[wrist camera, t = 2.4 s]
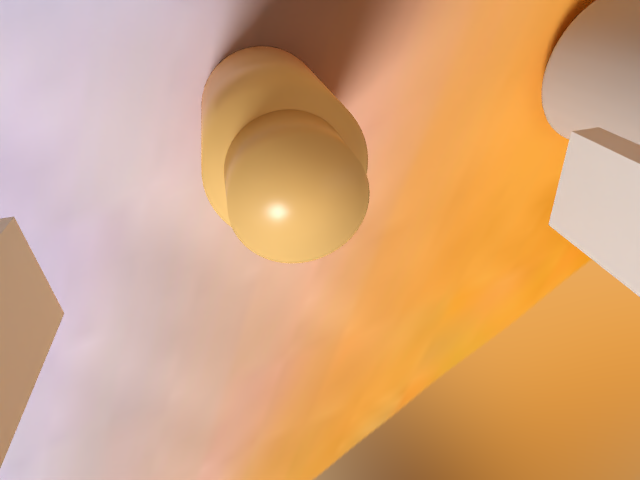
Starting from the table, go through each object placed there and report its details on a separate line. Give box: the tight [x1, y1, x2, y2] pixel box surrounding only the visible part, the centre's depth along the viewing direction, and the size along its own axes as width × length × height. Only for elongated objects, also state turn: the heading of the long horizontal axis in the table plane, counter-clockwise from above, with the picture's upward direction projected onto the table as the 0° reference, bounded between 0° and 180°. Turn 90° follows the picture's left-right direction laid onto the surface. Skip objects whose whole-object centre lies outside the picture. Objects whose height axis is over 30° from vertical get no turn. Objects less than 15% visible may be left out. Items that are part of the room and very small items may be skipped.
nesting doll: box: [201, 46, 369, 263], centre depth 14 cm, size 5×5×8 cm
